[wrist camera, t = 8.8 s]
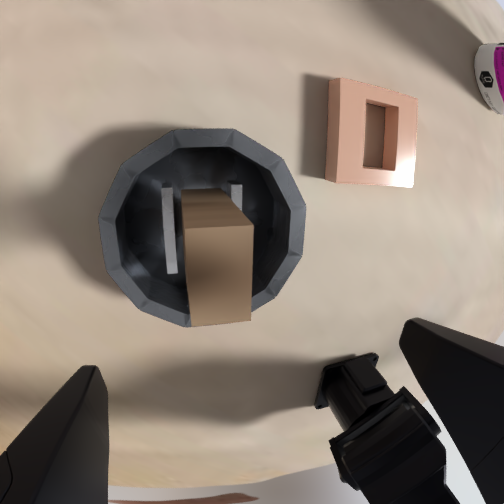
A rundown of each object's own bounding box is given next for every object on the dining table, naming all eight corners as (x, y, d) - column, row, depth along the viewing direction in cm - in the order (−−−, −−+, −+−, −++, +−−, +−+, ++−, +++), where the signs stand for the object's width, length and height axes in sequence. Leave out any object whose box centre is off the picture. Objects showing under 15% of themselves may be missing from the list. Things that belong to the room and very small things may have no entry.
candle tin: (278, 288, 22) (296, 314, 19) (126, 301, 19) (119, 331, 16) (286, 132, 18) (310, 132, 15) (108, 137, 15) (92, 137, 12)
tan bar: (220, 249, 19) (251, 320, 12) (183, 252, 19) (191, 326, 11) (220, 188, 18) (253, 225, 10) (180, 189, 17) (184, 228, 10)
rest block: (399, 183, 21) (412, 187, 20) (324, 179, 20) (336, 183, 18) (404, 99, 19) (417, 98, 17) (328, 80, 17) (340, 77, 16)
